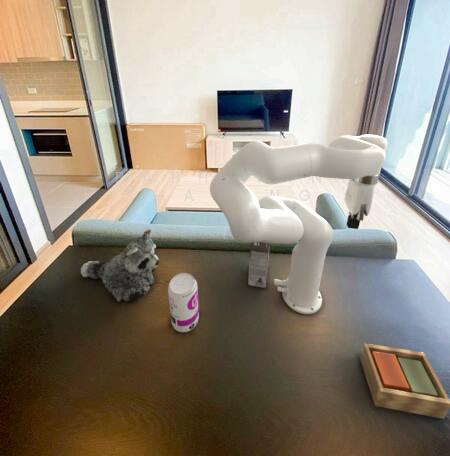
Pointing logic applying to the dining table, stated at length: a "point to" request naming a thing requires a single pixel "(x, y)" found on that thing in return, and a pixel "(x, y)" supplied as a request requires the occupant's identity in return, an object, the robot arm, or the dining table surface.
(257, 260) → the coffee box
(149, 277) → the raccoon plush
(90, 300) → the dining table surface
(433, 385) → the snack tray
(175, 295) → the supplement can
